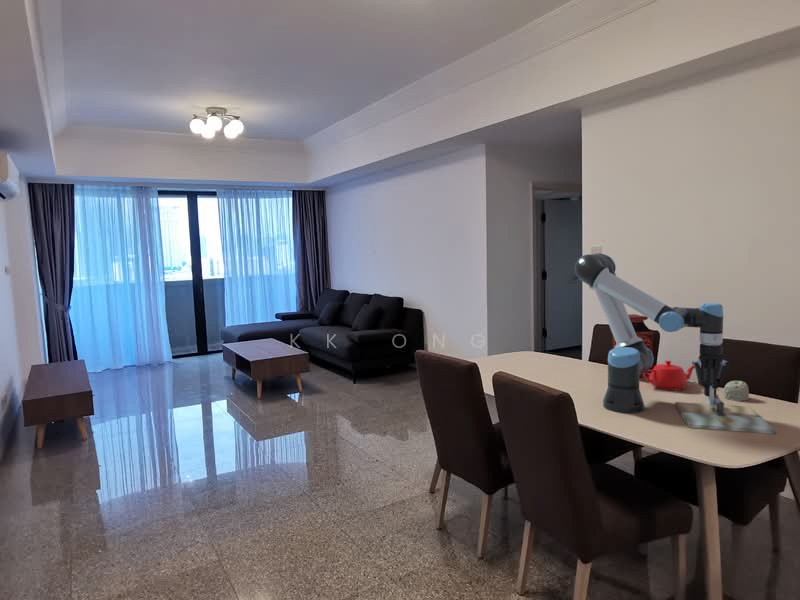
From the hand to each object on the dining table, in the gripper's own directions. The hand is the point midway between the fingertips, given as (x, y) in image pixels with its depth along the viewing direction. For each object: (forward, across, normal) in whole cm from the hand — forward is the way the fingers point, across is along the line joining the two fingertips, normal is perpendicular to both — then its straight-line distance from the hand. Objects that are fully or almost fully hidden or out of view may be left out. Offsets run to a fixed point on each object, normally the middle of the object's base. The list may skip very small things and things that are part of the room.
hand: (710, 404), depth 202 cm
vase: (+3, -9, +60) cm, 60 cm away
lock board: (+3, 0, -8) cm, 8 cm away
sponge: (+3, +19, +19) cm, 27 cm away
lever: (+1, +2, -1) cm, 2 cm away
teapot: (+3, 0, +37) cm, 37 cm away
